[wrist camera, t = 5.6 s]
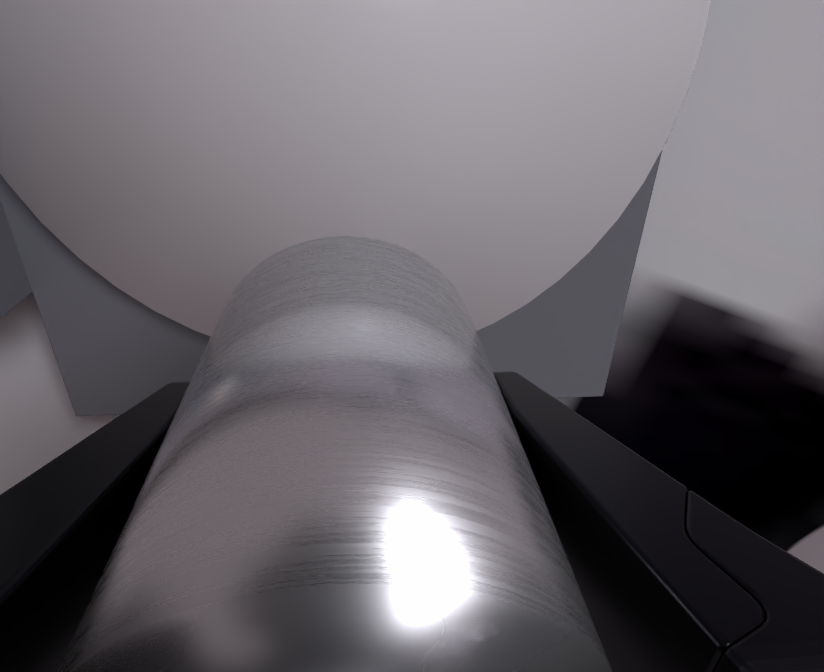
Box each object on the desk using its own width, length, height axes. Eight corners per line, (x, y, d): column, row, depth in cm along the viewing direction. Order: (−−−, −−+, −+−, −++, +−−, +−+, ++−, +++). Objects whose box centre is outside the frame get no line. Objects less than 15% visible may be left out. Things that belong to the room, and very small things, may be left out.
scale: (586, 371, 19) (629, 435, 16) (-42, 392, 17) (-123, 469, 14) (812, -664, 9) (1031, -993, 6) (-648, -898, 7) (-1354, -1551, 4)
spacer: (465, 450, 11) (571, 851, 6) (235, 460, 10) (114, 905, 5) (485, 234, 9) (691, 561, 3) (195, 237, 8) (-87, 613, 3)
